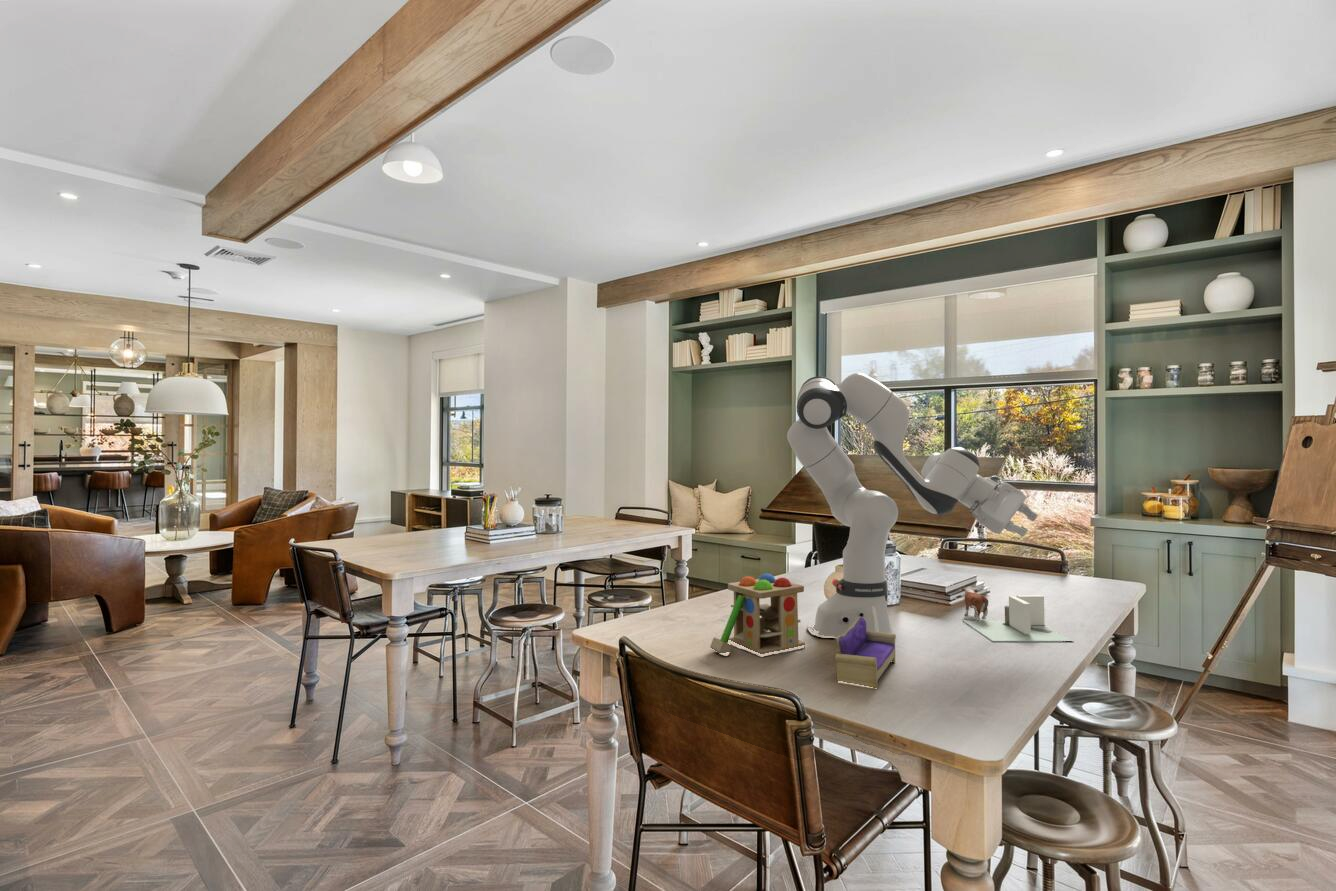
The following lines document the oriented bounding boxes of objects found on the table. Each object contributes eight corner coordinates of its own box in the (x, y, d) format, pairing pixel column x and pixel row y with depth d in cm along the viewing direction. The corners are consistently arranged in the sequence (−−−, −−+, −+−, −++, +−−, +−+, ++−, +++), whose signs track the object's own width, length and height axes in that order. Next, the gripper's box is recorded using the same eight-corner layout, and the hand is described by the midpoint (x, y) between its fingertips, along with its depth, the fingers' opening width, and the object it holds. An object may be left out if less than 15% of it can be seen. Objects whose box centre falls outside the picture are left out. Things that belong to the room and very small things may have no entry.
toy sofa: (876, 691, 136) (875, 642, 137) (835, 685, 141) (834, 637, 141) (897, 662, 155) (896, 619, 155) (860, 657, 159) (859, 615, 159)
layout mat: (992, 642, 169) (992, 640, 169) (963, 621, 189) (963, 620, 189) (1073, 642, 167) (1073, 640, 167) (1035, 621, 187) (1035, 620, 187)
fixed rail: (1007, 625, 182) (1006, 596, 182) (1003, 623, 185) (1002, 595, 185) (1045, 625, 181) (1044, 596, 182) (1041, 623, 184) (1040, 594, 184)
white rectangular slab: (1009, 625, 182) (1008, 596, 182) (1015, 625, 182) (1014, 596, 182) (1024, 634, 173) (1024, 603, 173) (1030, 634, 173) (1030, 603, 173)
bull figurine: (974, 612, 199) (973, 585, 200) (991, 622, 186) (991, 593, 186) (959, 612, 200) (958, 585, 200) (975, 621, 186) (975, 592, 187)
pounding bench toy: (733, 664, 155) (731, 588, 155) (699, 649, 167) (698, 579, 167) (806, 648, 167) (804, 577, 167) (770, 635, 179) (768, 569, 179)
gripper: (973, 501, 166) (1026, 533, 160) (998, 473, 180) (1048, 501, 174) (961, 519, 170) (1012, 551, 164) (987, 490, 184) (1034, 519, 178)
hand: (1031, 525), depth 169 cm, fingers open, 8 cm apart
